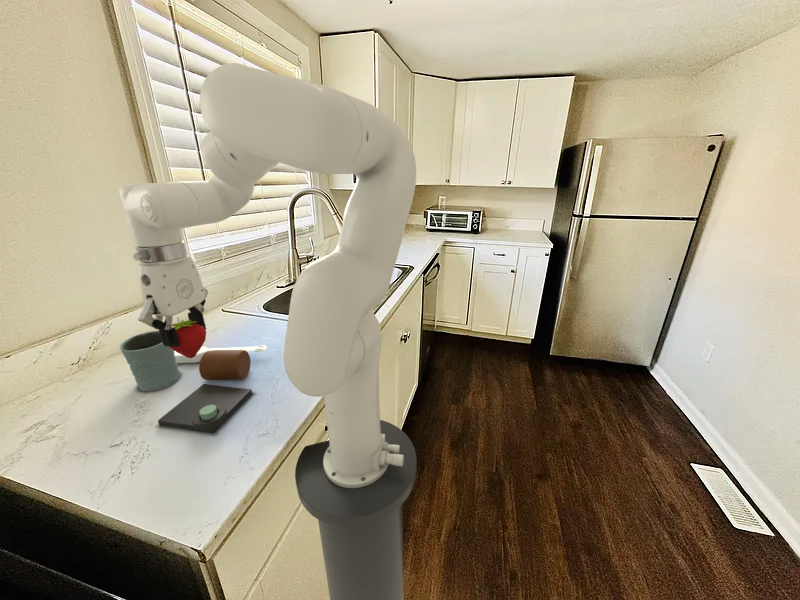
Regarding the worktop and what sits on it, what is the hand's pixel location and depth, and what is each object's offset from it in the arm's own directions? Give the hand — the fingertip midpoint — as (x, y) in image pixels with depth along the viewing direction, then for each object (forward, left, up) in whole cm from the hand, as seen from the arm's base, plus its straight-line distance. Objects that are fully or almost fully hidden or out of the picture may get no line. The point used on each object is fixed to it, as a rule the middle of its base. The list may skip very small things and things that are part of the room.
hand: (186, 337), depth 68 cm
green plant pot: (+18, -6, -18) cm, 26 cm away
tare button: (-6, +5, -15) cm, 17 cm away
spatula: (+11, -19, -18) cm, 28 cm away
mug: (-3, -13, -15) cm, 20 cm away
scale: (-2, +1, -17) cm, 18 cm away
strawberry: (0, 0, -5) cm, 5 cm away
